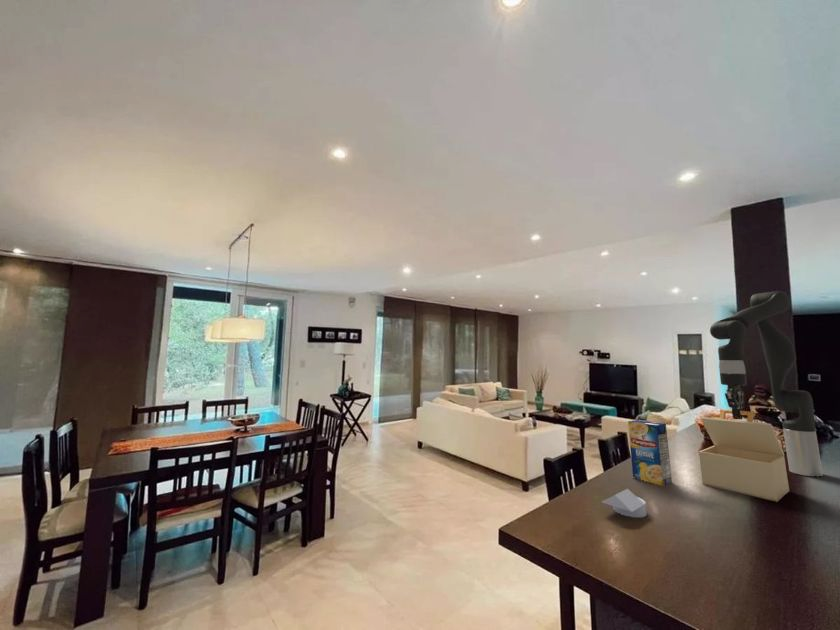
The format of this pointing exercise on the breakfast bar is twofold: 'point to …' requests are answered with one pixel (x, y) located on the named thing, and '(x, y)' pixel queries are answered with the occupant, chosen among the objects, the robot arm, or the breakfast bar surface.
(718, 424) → the lid flap
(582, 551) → the breakfast bar surface
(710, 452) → the carton
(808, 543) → the breakfast bar surface
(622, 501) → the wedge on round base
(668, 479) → the blue cardboard box
